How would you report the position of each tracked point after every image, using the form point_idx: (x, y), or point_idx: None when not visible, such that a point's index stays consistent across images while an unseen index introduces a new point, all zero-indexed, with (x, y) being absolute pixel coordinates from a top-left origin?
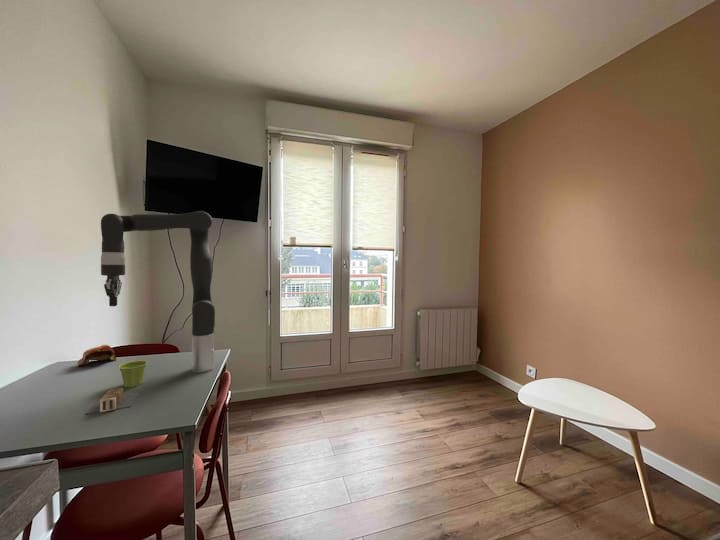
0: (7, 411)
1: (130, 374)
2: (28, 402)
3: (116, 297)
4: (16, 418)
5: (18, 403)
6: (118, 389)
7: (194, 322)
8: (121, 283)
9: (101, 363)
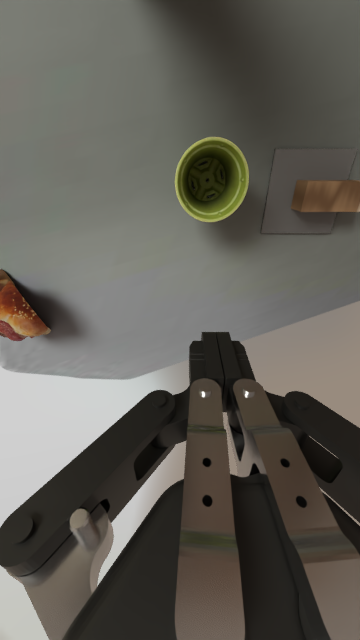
0: None
1: (237, 183)
2: None
3: (233, 375)
4: (272, 322)
5: None
6: (313, 190)
7: None
8: (30, 535)
9: None
